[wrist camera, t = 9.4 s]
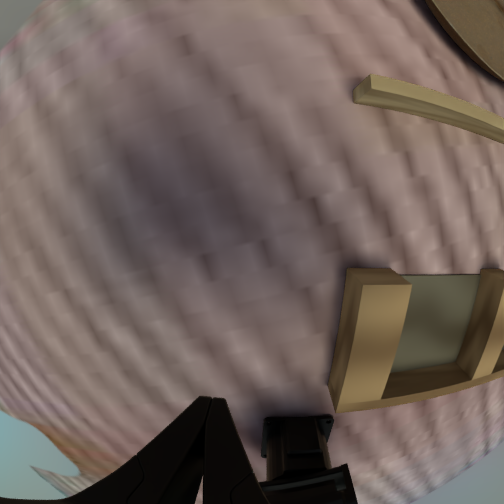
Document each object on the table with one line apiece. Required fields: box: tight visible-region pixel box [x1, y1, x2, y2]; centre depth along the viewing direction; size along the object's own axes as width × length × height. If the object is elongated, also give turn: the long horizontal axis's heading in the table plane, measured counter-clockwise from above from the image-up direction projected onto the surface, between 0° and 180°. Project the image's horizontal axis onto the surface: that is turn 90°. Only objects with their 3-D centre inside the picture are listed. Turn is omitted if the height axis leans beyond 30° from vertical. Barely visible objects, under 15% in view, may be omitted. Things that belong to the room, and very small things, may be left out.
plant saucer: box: [425, 0, 504, 82], centre depth 12 cm, size 18×18×3 cm
